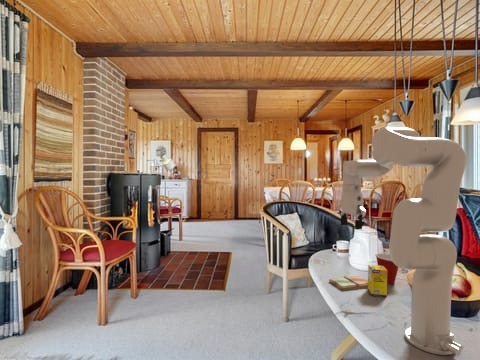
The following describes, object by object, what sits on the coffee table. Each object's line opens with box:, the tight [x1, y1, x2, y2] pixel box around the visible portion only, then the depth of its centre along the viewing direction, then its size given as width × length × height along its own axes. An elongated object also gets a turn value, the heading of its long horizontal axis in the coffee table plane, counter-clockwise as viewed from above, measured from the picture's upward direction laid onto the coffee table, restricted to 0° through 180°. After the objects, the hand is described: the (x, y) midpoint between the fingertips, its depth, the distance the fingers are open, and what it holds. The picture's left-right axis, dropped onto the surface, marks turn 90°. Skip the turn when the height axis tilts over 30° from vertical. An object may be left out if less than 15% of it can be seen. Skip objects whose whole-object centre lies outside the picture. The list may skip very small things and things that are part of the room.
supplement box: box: [367, 264, 388, 298], centre depth 117 cm, size 6×6×11 cm
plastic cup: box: [375, 253, 399, 285], centre depth 129 cm, size 11×11×12 cm
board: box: [328, 275, 368, 292], centre depth 126 cm, size 10×16×2 cm, turn 106°
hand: (350, 227), depth 126 cm, fingers open, 9 cm apart
